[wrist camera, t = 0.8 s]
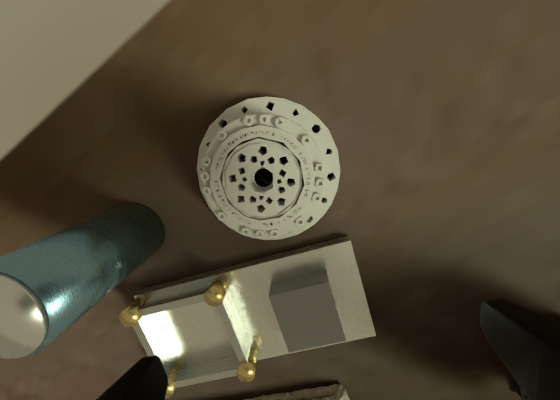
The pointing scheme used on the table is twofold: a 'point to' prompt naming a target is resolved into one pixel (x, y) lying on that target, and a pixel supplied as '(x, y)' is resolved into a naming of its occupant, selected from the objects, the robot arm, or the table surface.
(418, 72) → the table surface
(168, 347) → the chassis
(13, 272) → the cylinder
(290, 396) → the washcloth
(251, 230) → the mechanical component
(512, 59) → the table surface
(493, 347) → the robot arm
